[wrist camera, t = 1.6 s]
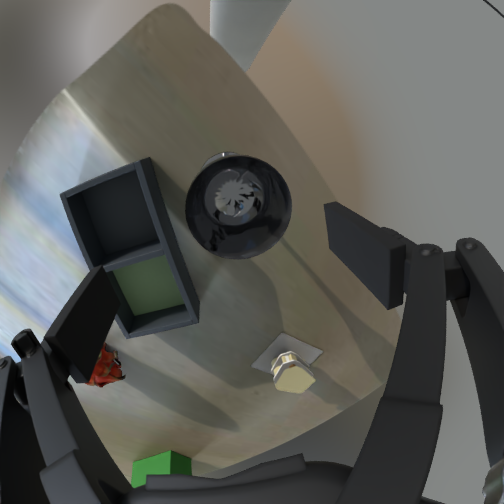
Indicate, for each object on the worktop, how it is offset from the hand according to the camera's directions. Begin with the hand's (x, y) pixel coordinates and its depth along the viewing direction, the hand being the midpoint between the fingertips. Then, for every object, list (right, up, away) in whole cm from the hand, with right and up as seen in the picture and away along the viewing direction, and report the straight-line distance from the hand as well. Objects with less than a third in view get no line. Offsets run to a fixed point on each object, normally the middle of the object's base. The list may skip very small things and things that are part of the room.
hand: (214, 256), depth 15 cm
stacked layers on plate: (+8, -19, +32) cm, 38 cm away
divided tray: (-13, +1, +20) cm, 24 cm away
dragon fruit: (-24, -16, +26) cm, 39 cm away
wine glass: (-1, +9, +19) cm, 21 cm away
